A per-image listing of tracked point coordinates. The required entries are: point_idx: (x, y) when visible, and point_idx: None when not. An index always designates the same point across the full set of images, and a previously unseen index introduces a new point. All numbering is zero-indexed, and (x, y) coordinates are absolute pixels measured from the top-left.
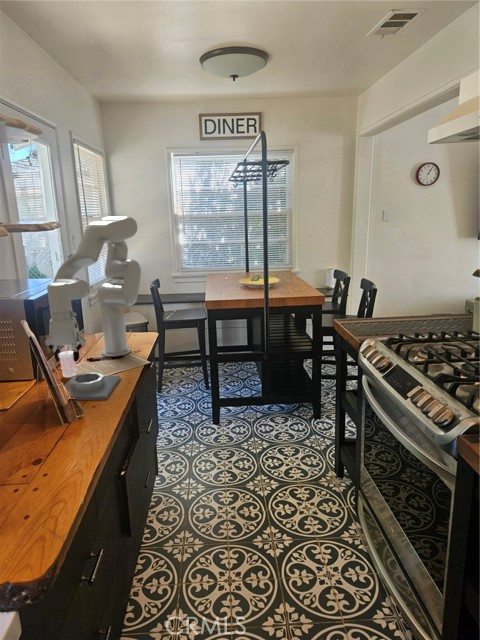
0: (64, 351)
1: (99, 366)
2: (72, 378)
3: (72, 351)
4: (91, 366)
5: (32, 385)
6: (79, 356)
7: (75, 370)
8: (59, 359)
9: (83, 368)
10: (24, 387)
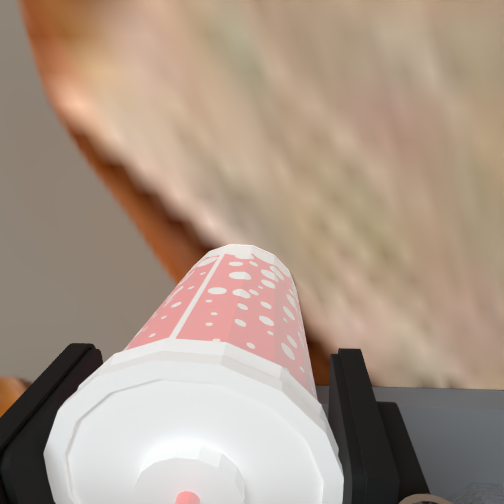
0: (88, 393)
1: (499, 36)
2: None
3: (252, 394)
4: (393, 37)
5: None
6: (399, 412)
7: (299, 308)
8: None
9: (314, 109)
10: None
